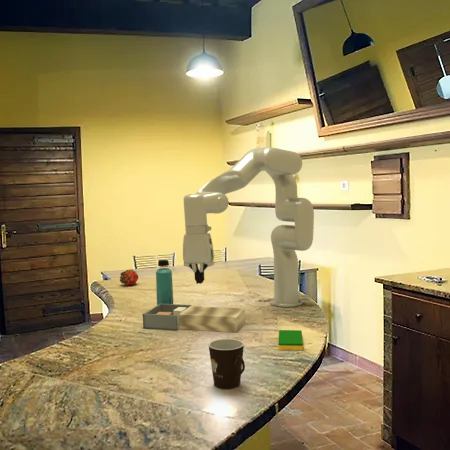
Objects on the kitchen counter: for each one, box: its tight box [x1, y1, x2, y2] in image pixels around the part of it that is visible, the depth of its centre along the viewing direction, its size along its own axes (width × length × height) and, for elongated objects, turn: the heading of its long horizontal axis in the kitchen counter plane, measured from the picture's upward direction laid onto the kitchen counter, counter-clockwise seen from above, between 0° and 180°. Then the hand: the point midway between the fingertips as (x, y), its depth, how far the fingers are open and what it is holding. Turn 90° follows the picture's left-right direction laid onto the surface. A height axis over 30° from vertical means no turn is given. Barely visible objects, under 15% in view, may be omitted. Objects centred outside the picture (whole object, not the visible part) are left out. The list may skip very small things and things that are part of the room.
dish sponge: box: [277, 329, 304, 351], centre depth 158 cm, size 7×14×2 cm, turn 173°
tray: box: [142, 303, 192, 331], centre depth 182 cm, size 12×15×5 cm
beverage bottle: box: [155, 259, 175, 306], centre depth 199 cm, size 6×7×20 cm
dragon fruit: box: [119, 268, 139, 287], centre depth 253 cm, size 8×8×12 cm
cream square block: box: [173, 307, 187, 325], centre depth 181 cm, size 5×5×3 cm
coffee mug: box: [208, 338, 246, 390], centre depth 125 cm, size 12×9×10 cm
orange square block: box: [157, 312, 172, 315], centre depth 182 cm, size 5×5×3 cm
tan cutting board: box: [178, 305, 246, 333], centre depth 178 cm, size 20×12×5 cm, turn 74°
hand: (199, 282), depth 179 cm, fingers closed
